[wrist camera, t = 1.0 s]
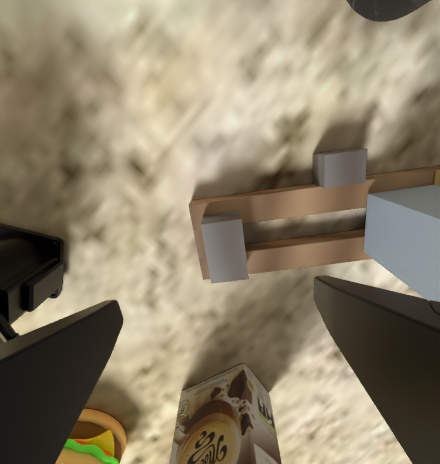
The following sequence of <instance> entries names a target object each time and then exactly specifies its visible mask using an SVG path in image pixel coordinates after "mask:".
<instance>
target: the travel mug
mask: <svg viewBox="0 0 440 464" xmlns="http://www.w3.org/2000/svg"><path fill="white" fill-rule="evenodd" d="M347 1H348V3H349V4H350V6H351V7H352V8H353V9H354V10H355V11H356V12H357V13H358V14H360V15H361V16H363V17H365V18H367V19H370V20H373V21H391V20H395V19H398V18H401V17H403V16H405V15H407V14H409V13H411V12H413V11H415V10H416V9H418V8H420V7H421V6H423V5H424V4H426V3H428V2H429V1H431V0H347Z"/></svg>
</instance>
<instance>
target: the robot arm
mask: <svg viewBox="0 0 440 464" xmlns="http://www.w3.org/2000/svg"><path fill="white" fill-rule="evenodd" d="M55 242H56V243H57V244H58V245H56V244H55ZM63 245H64V244H63V241H62V240H61V239H59V238H56V237H52V236H47V235H43V234H39V233H35V232H31V231H27V230H23V229H19V228H15V227H11V226H7V225H3V224H0V464H55V463H56V461H57V459H58V458H59V456H60V454H61V452H62V450H63V448H64V446H65V444H66V442H67V440H68V438H69V436H70V434H71V432H72V430H73V428H74V426H75V424H76V423H77V421H78V419H79V417H80V415H81V413H82V411H83V409H84V407H85V405H86V403H87V401H88V399H89V397H90V395H91V393H92V391H93V390H94V388H95V386H96V384H97V382H98V380H99V378H100V376H101V374H102V372H103V370H104V368H105V366H106V364H107V362H108V360H109V358H110V356H111V353H112V351H113V349H114V346H115V343H116V341H117V338H118V336H119V333H120V330H121V328H122V325H123V315H122V312H121V310H120V307H119V304H118V302H117V301H116V300H108V301H104V302H101V303H99V304H97V305H94V306H92V307H89V308H87V309H84V310H82V311H80V312H77V313H75V314H72V315H70V316H67V317H65V318H63V319H60V320H58V321H55V322H53V323H50V324H48V325H46V326H43V327H41V328H38V329H36V330H33V331H31V332H29V333H26V334H24V335H21V336H20V335H19V334H18V333H16V332H15V331H14V329H13V328H12V327H11V324H12V323H13V322H15V321H16V320H17V319H18V318H19V317H20V316H22V315H23V314H24V313H25V312H26V311H27V312H31V311H33V310H35V309H36V308H37V307H38V306H39V305H40V304H41V303H43V302H44V301H45V300H46V299H47V298H48V297H49V298H57V297H58V296H59V295H60V293H61V286H62V284H63V269H64V263H63ZM54 293H55V294H54ZM314 301H315V304H316V306H317V308H318V310H319V312H320V314H321V316H322V318H323V321H324V323H325V325H326V327H327V329H328V331H329V333H330V335H331V336H332V338H333V340H334V341H335V343H336V344H337V346H338V348H339V349H340V351H341V352H342V354H343V355H344V357H345V359H346V360H347V362H348V363H349V365H350V366H351V368H352V369H353V371H354V373H355V374H356V376H357V377H358V379H359V380H360V382H361V384H362V385H363V387H364V388H365V390H366V391H367V393H368V395H369V396H370V398H371V399H372V401H373V402H374V404H375V405H376V407H377V409H378V410H379V412H380V413H381V415H382V416H383V418H384V420H385V421H386V423H387V424H388V426H389V427H390V429H391V431H392V432H393V434H394V435H395V437H396V438H397V440H398V441H399V443H400V445H401V446H402V448H403V449H404V451H405V452H406V454H407V456H408V457H409V459H410V460H411V462H412V463H413V464H440V302H438V301H434V300H429V301H428V300H427V299H423V298H419V297H415V296H410V295H406V294H402V293H398V292H393V291H389V290H385V289H381V288H376V287H372V286H368V285H364V284H359V283H355V282H351V281H347V280H343V279H338V278H334V277H330V276H316V277H315V278H314Z"/></svg>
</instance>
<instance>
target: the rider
mask: <svg viewBox="0 0 440 464" xmlns="http://www.w3.org/2000/svg"><path fill="white" fill-rule="evenodd" d="M364 252H365V253H366V254H367V255H369V256H370V257H371V258H373V259H374V260H375V261H377V262H378V263H379V264H380V265H382V266H383V267H384V268H386V269H387V270H388V271H390V272H391V273H392V274H393V275H395V276H396V277H397V278H399V279H400V280H401V281H403V282H404V283H405V284H406V285H408V286H409V287H410V288H412V289H413V290H414V291H416V292H417V293H418V294H420V295H421V296H422V297H423V298H425V299H427V300H428V301H429V300H434V301H438V302H440V186H439V185H428V186H421V187H414V188H407V189H399V190H392V191H385V192H378V193H370V194H368V198H367V212H366V227H365V241H364Z"/></svg>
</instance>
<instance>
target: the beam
mask: <svg viewBox="0 0 440 464" xmlns="http://www.w3.org/2000/svg"><path fill="white" fill-rule="evenodd" d="M366 163H367V149H356V148H349V149H342V150H335V151H328V152H322V153H315V154H313V183H312V184H305V185H298V186H291V187H284V188H277V189H270V190H262V191H255V192H248V193H241V194H234V195H227V196H220V197H213V198H206V199H199V200H192V201H191V202H190V203H189V210H190V215H191V220H192V225H193V230H194V235H195V240H196V246H197V251H198V256H199V261H200V266H201V271H202V276H203V280H205V279H211V283H219V282H227V281H235V280H244V279H249V277H248V274H253V273H261V272H270V271H278V270H286V269H294V268H302V267H310V266H318V265H326V264H335V263H343V262H351V261H359V260H367V259H373V258H371V257H370V256H369V255H367V254H366V253H365V252H364V241H365V229H361V230H354V231H346V232H338V233H330V234H323V235H315V236H307V237H300V238H292V239H284V240H277V241H269V242H261V243H254V244H246V245H245V243H244V235H243V226H242V224H245V223H253V222H260V221H268V220H275V219H282V218H290V217H297V216H305V215H312V214H320V213H327V212H334V211H342V210H349V209H357V208H364V207H367V198H368V194H370V193H378V192H385V191H392V190H399V189H407V188H414V187H421V186H428V185H439V186H440V165H439V166H432V167H425V168H418V169H411V170H404V171H396V172H389V173H382V174H375V175H368V176H366Z"/></svg>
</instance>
